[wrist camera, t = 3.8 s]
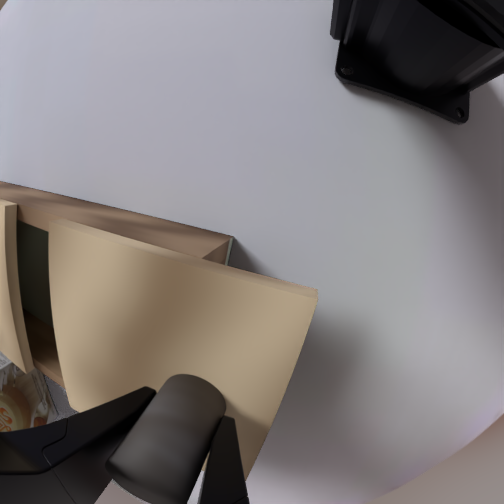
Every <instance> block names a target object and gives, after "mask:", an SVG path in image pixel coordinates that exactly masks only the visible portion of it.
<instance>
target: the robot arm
mask: <svg viewBox="0 0 504 504" xmlns="http://www.w3.org/2000/svg"><path fill="white" fill-rule="evenodd" d="M330 35H331V36H332V37H333V39H336V40H340V43H339V49H338V55H337V61H336V66H335V75H336V77H337V78H338V79H339V80H340V81H342V82H344V83H347V84H351V85H355V86H358V87H362V88H365V89H368V90H372V91H375V92H378V93H381V94H384V95H387V96H390V97H393V98H396V99H398V100H401V101H404V102H406V103H409V104H412V105H414V106H417V107H419V108H422V109H424V110H427V111H429V112H431V113H434V114H436V115H438V116H440V117H443V118H445V119H447V120H449V121H451V122H453V123H455V124H463V123H465V122H467V120H468V117H469V98H470V91H472V90H474V89H476V88H478V87H479V86H481V85H483V84H485V83H487V82H489V81H490V80H492V79H494V78H496V77H498V76H500V75H502V74H503V73H504V0H334V2H333V11H332V20H331V29H330ZM344 68H347V69H349V70H350V71H351V72H352V74H350V75H346V74H344V73H343V72H342V71H341V70H342V69H344ZM456 109H457V110H458V111H459V112H460V115H461V117H459V116H458V115H457V114H456ZM156 394H157V392H156V390H155V389H153V388H151V387H148V386H144V387H142V388H139V389H137V390H135V391H132V392H130V393H128V394H125V395H123V396H121V397H118V398H116V399H113V400H111V401H109V402H106V403H104V404H101V405H99V406H96V407H94V408H91V409H88V410H86V411H83V412H81V413H78V414H75V415H72V416H70V417H68V418H64V419H61V420H58V421H55V422H52V423H49V424H45V425H41V426H36V427H31V428H26V429H20V430H14V431H7V432H0V504H94V503H95V502H96V500H97V499H98V498H99V496H100V495H101V494H102V492H103V491H104V489H105V488H106V487H107V485H108V484H109V483H110V481H111V480H112V477H111V476H110V475H109V474H108V472H107V470H106V468H105V462H106V461H107V460H108V458H109V457H110V456H111V454H112V453H113V452H114V450H115V449H116V448H117V446H118V445H119V444H120V442H121V441H122V440H123V438H124V437H125V436H126V434H127V433H128V432H129V430H130V429H131V428H132V426H133V425H134V424H135V422H136V421H137V419H138V418H139V417H140V415H141V414H142V413H143V411H144V410H145V409H146V407H147V406H148V405H149V403H150V402H151V401H152V399H153V398H154V397H155V395H156ZM247 496H248V493H247V488H246V482H245V477H244V471H243V465H242V460H241V454H240V448H239V442H238V435H237V429H236V422H235V419H234V418H233V417H229V416H226V415H223V416H222V418H221V421H220V423H219V425H218V428H217V430H216V432H215V435H214V437H213V440H212V443H211V447H210V451H209V455H208V459H207V463H206V467H205V470H204V475H203V479H202V484H201V489H200V493H199V498H198V502H197V504H250V503H249V498H248V497H247Z"/></svg>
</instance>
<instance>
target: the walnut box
mask: <svg viewBox="0 0 504 504" xmlns="http://www.w3.org/2000/svg"><path fill="white" fill-rule="evenodd" d="M0 199H3V200H6V201H9V202H12V203H16V204H17V219H16V242H17V265H18V278H19V288H20V297H21V304H22V311H23V317H24V323H25V329H26V334H27V339H28V343H29V348H30V352H31V356H32V360H33V364H34V367H35V368H37V369H38V370H39V371H41V372H42V373H43V374H45V375H46V376H47V377H49V378H50V379H52V380H53V381H54V382H56V383H57V384H59V385H60V386H62V387H63V388H65V385H64V380H63V376H62V371H61V367H60V362H59V356H58V351H57V345H56V339H55V332H54V325H53V317H52V307H51V296H50V282H49V221H53V220H58V219H67V220H70V221H73V222H76V223H80V224H83V225H86V226H90V227H93V228H96V229H100V230H103V231H106V232H110V233H113V234H116V235H120V236H123V237H127V238H130V239H134V240H137V241H140V242H144V243H147V244H151V245H154V246H158V247H161V248H165V249H168V250H172V251H176V252H179V253H183V254H186V255H190V256H193V257H197V258H201V259H204V260H208V261H212V262H215V263H219V264H223V265H226V266H228V262H229V257H230V252H231V247H232V242H233V237H234V236H230V235H226V234H222V233H218V232H214V231H210V230H206V229H201V228H197V227H193V226H189V225H185V224H181V223H177V222H173V221H169V220H165V219H161V218H157V217H152V216H148V215H144V214H140V213H136V212H132V211H127V210H123V209H119V208H115V207H111V206H106V205H102V204H98V203H94V202H89V201H85V200H81V199H77V198H72V197H68V196H64V195H59V194H55V193H51V192H46V191H42V190H37V189H33V188H29V187H24V186H20V185H15V184H11V183H6V182H2V181H0Z"/></svg>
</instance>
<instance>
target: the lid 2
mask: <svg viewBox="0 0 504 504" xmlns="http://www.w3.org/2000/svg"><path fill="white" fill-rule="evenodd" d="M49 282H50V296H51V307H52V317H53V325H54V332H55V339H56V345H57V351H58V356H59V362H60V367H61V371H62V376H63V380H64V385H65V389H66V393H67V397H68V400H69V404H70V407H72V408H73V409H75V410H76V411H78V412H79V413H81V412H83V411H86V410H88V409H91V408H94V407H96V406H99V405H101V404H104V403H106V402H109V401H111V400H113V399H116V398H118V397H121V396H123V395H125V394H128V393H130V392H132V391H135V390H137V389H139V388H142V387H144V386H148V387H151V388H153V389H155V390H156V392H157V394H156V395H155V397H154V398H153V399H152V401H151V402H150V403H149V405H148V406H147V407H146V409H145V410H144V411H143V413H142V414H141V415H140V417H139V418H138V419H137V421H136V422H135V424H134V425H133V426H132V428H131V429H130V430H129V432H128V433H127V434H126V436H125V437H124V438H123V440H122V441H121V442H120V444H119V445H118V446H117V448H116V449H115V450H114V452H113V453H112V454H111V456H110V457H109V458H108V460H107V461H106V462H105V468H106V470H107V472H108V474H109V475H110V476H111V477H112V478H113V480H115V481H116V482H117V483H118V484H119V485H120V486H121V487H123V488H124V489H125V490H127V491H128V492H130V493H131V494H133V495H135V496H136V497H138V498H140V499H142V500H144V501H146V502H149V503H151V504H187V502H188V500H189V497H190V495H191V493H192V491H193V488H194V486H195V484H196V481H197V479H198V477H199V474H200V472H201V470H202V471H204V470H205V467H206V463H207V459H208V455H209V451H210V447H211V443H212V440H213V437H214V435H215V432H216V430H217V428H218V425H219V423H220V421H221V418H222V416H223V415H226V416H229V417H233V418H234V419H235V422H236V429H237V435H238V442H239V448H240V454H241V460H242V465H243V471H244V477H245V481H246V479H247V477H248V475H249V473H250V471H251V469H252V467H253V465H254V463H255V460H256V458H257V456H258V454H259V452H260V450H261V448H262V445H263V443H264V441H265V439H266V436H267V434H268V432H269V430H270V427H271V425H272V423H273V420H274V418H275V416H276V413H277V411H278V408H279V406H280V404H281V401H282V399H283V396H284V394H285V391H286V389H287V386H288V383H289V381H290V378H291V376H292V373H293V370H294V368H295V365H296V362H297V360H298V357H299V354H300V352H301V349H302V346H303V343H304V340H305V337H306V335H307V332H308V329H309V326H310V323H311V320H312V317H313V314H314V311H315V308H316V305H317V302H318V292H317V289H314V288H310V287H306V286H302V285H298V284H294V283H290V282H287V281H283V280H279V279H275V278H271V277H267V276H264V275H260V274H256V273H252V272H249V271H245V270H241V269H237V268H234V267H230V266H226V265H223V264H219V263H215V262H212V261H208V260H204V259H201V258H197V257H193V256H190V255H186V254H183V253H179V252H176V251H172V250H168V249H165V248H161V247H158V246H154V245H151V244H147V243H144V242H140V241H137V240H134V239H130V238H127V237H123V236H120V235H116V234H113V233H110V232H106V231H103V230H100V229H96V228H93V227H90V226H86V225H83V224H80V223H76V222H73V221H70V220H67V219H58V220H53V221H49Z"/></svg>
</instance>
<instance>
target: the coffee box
mask: <svg viewBox="0 0 504 504" xmlns="http://www.w3.org/2000/svg"><path fill="white" fill-rule="evenodd" d="M57 417H58V414H57V412H56V409H55V407H54V404H53V401H52V399H51V396H50V393H49V391H48V388H47V385H46V382H45V379H44V376H43V373H42V372H41V371H39V370H38V369H37V368H35V367H34V369H33V370H32V371H30V372H29V373H28V374H26V373H25V372H23V371H22V370H21V369H20V368H19V367H17V366H16V365H15V364H14V363H13V362H12V361H11V360H10V359H8V358H7V357H6V356H5V355H4V354H3V353H2V352H1V351H0V432H7V431H14V430H20V429H26V428H31V427H36V426H41V425H45V424H49V423H52V422H53V421H54V420H55V419H56V418H57Z"/></svg>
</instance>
